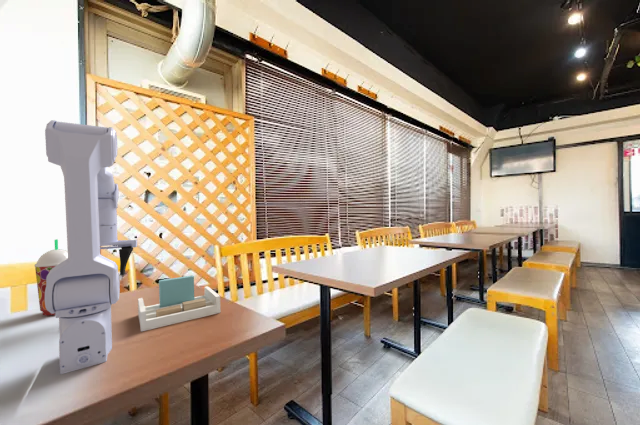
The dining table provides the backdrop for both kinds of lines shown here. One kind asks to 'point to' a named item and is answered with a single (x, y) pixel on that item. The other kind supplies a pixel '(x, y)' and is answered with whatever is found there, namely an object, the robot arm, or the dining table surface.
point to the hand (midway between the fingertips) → (105, 276)
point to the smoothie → (47, 272)
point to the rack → (151, 321)
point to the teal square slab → (176, 290)
